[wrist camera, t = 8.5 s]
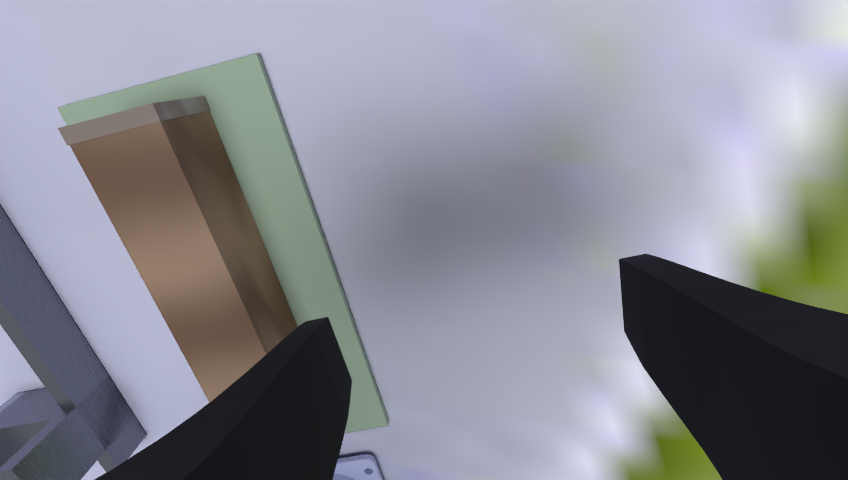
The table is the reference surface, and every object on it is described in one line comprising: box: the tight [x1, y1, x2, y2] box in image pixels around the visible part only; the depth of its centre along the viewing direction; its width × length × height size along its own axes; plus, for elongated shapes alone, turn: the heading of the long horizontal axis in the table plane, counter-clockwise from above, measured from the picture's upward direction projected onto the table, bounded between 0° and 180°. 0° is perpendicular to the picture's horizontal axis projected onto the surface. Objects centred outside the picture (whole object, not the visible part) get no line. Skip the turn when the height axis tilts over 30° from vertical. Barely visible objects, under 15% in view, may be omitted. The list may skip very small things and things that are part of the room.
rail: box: [58, 96, 298, 402], centre depth 20 cm, size 18×4×4 cm, turn 13°
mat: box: [58, 53, 389, 433], centre depth 21 cm, size 20×9×1 cm, turn 13°
